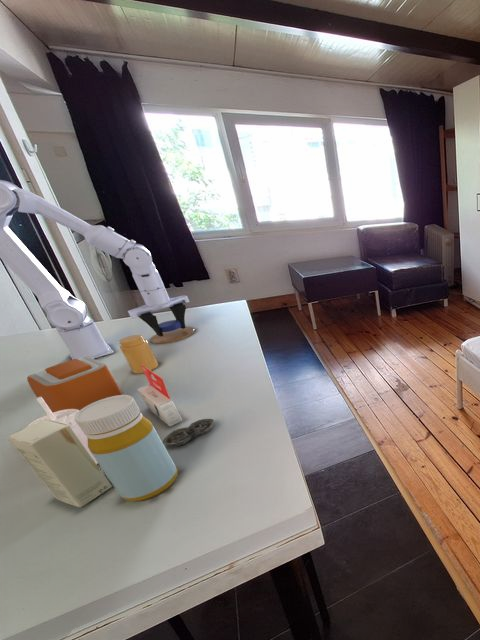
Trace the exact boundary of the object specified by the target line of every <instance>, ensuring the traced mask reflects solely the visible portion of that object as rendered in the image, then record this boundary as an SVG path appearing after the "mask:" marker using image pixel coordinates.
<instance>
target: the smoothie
mask: <svg viewBox="0 0 480 640" xmlns="http://www.w3.org/2000/svg"><path fill="white" fill-rule="evenodd" d="M36 400H37V402H38V403H39V405H40V406H41V407H42V409H43V410H44V412H45V413H46V415H45V414H44V415H43V416H41V417H39V418H37V419H35V420H33V421H31V422H30V423H29V424H27V425H26V426H25V428H28V427H30V426H32V425H34V424H36V423H38V422H41V421H43V420H45V419H46V420H51V421H56V422H60V423H64V424H67V425H69V426H70V428H71V429H72V431H73V432H74V433H75V435H76V436H77V438H78V439H79V441H80V442H81V443H82V445H83V446H84V448H85V449H86V450H87V452H88V453H89V455H90V456H91V457H92V459H93V460H94V462H95V463H96V464H97V465H99V463H98V462H97V460H96V459H95V457H94V456H93V454H92V453H91V451H90V449H89V448H88V439H87V437H86V436H85V434H84V432H83V431H82V430H81V429H80V427H79V426H78V424H77V423H76V421H75V415H76V413H77V412H79V410H78V409H66V410H61V411H57V412H53V413H52V411H51V410H50V408H49V407H48V405H47V404H46V403H45V401H44V400H43V398H42V397H38V398H37V397H36Z"/></svg>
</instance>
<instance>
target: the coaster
mask: <svg viewBox="0 0 480 640" xmlns="http://www.w3.org/2000/svg"><path fill="white" fill-rule="evenodd" d="M195 331H196V330H195V328H194V327H191V326H185V328H184V329H182V328H179V329H176V330H173V331H169V332H162V333H163V336H158V335H157V334H156V333H155V334H154V335H152V336H151V338H150V339H149V340H150V342H151V344H168V343H173V342H177V341H180V340H183V339H187V338H188V337H190V336H192V335H193V334H194V333H195Z"/></svg>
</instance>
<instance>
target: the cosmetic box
mask: <svg viewBox="0 0 480 640" xmlns="http://www.w3.org/2000/svg"><path fill="white" fill-rule="evenodd" d="M6 439H7V440H8V441H9V442H10V444H11V445H12V447H14V449H15V450H16V451H17V452H18V453H19V455H20V456H21V457H22V459H23V460H24V461H25V462H26V463H27V465H28V466H29V467H30V468H31V469H32V471H33V472H34V473H35V474H36V476H37V477H38V478H39V479H40V480H41V482H42V483H43V485H44V486H45V487H46V488H47V489H48V490H49V492H50V493H51V494H52V495H53V496H54V497H55V499H56V500H58V501H60V502H62V503H65V504H68V505H71V506H74V507H77V508H82V507H84V506H85V505H87V504H89V503H90V502H92V501H93V500H94V499H96V498H97V497H99V496H100V495H102V494H104V493H105V492H107V491H108V490H109V489H111V488H112V487H113V484H112V483H111V482H110V480H108V479H107V478H108V477H106V476H105V473H103V472H102V470H101V469H100V468H99V467H100V466H98V464H96V463H95V462H94V460H93V459H92V457H91V456H90V455H89V453H88V452H87V450H86V449H85V448H84V446H83V445H82V443H81V442H80V441H79V439H78V438H77V436H76V435H75V433H74V432H73V431H72V429H71V428H70V426H69V425H67V424H64V423H60V422H56V421H51V420H46V419H45V420H43V421H41V422H38V423H36V424H34V425H32V426H30V427H28V428H26V427H24V428H23V429H21V430H19V431H17V432H14V433H12V434H10V435H8V436H7V437H6Z"/></svg>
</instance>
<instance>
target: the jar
mask: <svg viewBox="0 0 480 640" xmlns="http://www.w3.org/2000/svg"><path fill="white" fill-rule="evenodd" d="M118 344H119V345H120V346H119V349H120V351H121V353H122V354H123V356H124V359H125V361H126V362H127V364H128V366H129V369H130V370H131V371H132V373H133V374H145V373H144V371H143V369H142V367H141V365H143V366H144V367H146V368H147V369H149V370H151V371H153V370H155V369H157V368H158V367H159V363H158V360H157V358H156V357H155V354H154V352H153V350H152V348H151V347H150V344H149V342H148V340H147V339H145V338H144V336H143V335H142V334H134V335H128V336H126V337H123V338H120V339H119V340H118Z"/></svg>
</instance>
